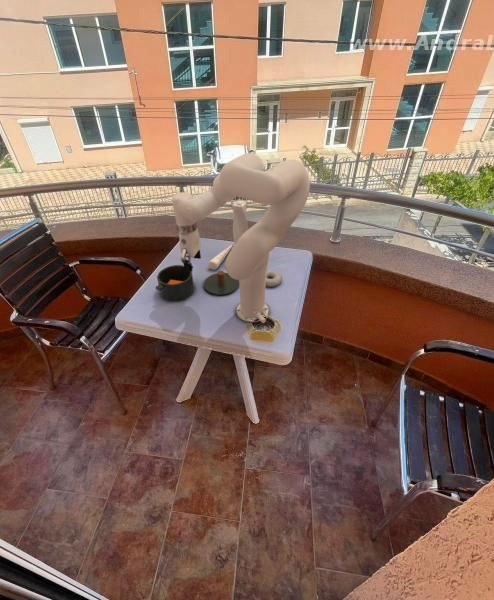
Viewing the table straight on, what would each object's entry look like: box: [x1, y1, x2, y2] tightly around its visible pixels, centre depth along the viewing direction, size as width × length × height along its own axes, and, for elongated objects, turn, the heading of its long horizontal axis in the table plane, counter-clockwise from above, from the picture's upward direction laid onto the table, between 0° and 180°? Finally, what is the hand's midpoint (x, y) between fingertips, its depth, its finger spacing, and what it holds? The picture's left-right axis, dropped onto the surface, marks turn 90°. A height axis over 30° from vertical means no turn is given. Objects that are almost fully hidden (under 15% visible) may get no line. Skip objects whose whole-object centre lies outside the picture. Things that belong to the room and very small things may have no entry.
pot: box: [155, 264, 195, 302], centre depth 137 cm, size 15×20×8 cm
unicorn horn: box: [207, 244, 234, 271], centre depth 157 cm, size 5×24×5 cm, turn 152°
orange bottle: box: [167, 280, 183, 284], centre depth 138 cm, size 10×3×4 cm, turn 72°
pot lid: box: [203, 270, 240, 296], centre depth 139 cm, size 16×16×7 cm
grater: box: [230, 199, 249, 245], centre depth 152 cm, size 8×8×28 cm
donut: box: [265, 269, 283, 288], centre depth 140 cm, size 10×3×10 cm
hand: (193, 264), depth 132 cm, fingers open, 9 cm apart
